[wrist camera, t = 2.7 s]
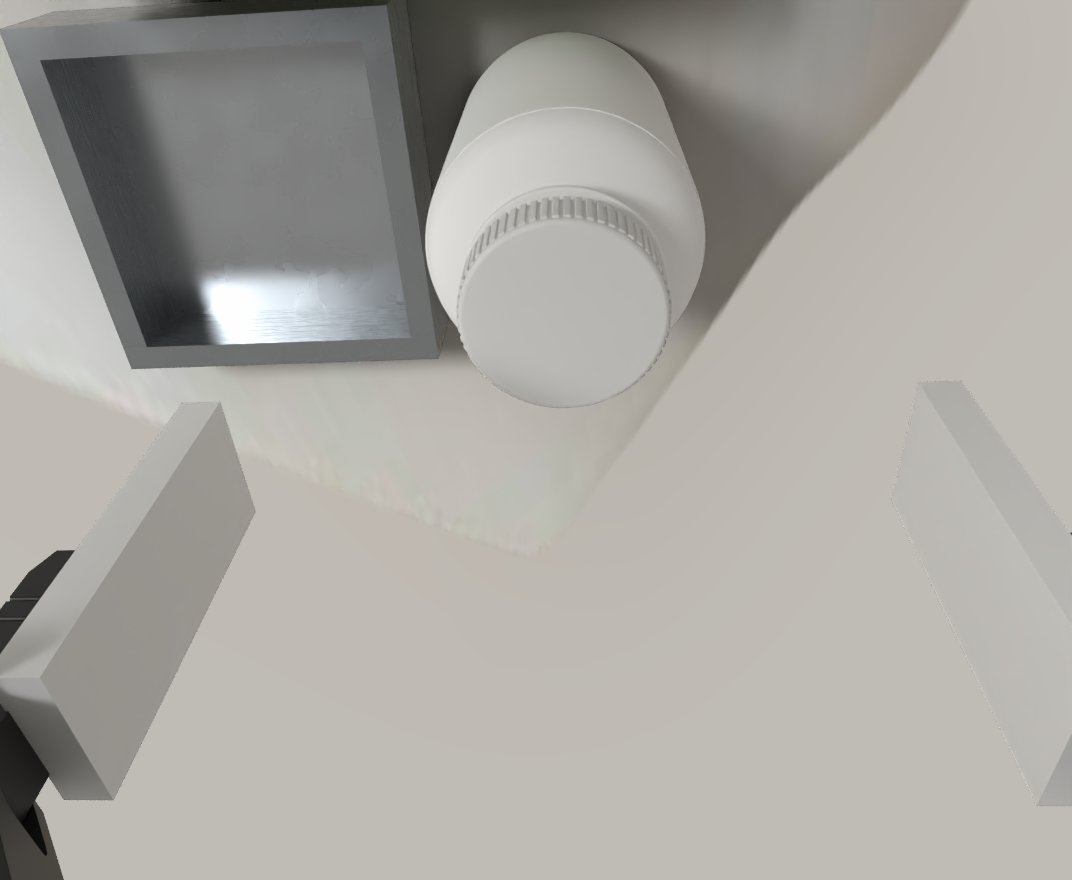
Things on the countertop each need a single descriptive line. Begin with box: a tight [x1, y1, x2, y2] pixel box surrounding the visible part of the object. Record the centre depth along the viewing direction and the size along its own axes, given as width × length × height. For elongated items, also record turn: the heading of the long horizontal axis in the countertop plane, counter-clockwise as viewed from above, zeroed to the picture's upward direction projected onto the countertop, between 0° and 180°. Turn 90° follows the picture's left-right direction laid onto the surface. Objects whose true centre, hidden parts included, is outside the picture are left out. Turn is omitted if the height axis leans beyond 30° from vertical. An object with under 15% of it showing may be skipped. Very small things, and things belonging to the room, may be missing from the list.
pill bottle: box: [425, 32, 706, 408], centre depth 27 cm, size 8×8×15 cm
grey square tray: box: [0, 0, 449, 369], centre depth 33 cm, size 13×13×4 cm
